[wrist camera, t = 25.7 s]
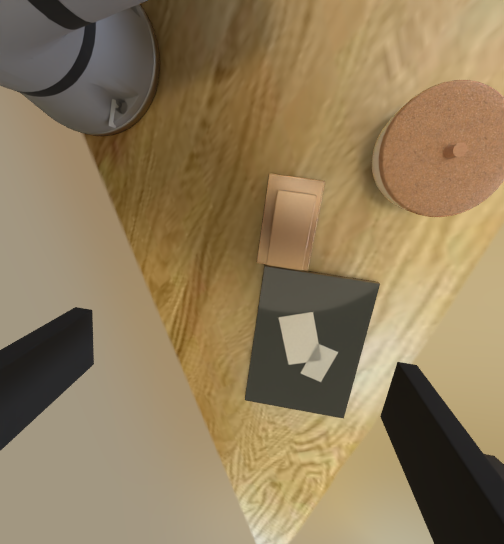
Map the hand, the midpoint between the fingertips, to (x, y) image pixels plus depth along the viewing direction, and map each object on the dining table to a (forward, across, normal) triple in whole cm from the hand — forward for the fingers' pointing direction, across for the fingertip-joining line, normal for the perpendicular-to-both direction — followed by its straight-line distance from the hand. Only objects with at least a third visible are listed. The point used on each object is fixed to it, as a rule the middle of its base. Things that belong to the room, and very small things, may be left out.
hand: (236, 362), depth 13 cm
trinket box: (+25, +14, +12) cm, 31 cm away
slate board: (+25, +7, -12) cm, 28 cm away
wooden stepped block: (+25, +2, +4) cm, 25 cm away
